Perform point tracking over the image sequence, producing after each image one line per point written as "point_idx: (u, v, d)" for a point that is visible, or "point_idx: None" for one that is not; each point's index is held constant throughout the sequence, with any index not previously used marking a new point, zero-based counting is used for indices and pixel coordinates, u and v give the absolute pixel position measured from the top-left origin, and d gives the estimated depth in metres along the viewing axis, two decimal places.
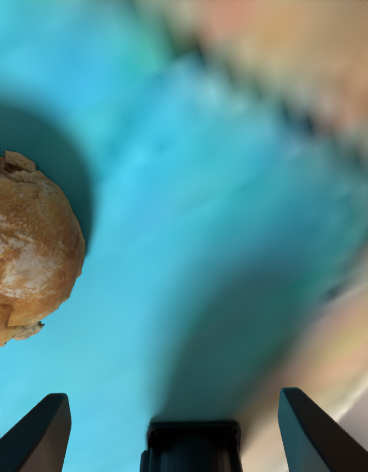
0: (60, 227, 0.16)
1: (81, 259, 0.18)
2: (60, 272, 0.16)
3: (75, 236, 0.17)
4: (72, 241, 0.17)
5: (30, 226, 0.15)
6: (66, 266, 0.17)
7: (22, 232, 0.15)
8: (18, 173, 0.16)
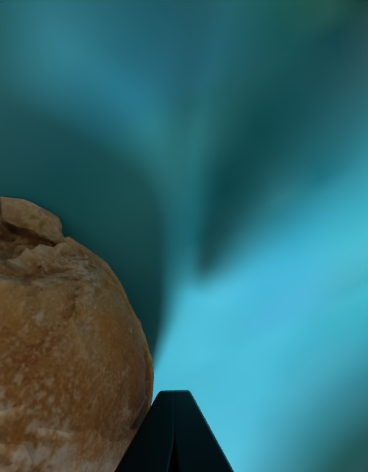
0: (124, 372, 0.07)
1: (151, 401, 0.09)
2: None
3: (144, 368, 0.09)
4: (143, 387, 0.08)
5: (63, 399, 0.06)
6: None
7: (45, 422, 0.06)
8: (30, 254, 0.07)
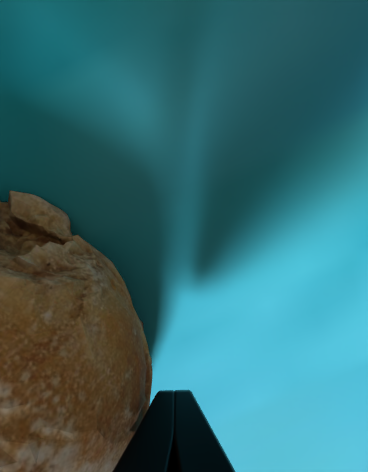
0: (127, 374, 0.07)
1: (148, 403, 0.09)
2: None
3: (145, 370, 0.09)
4: (144, 389, 0.08)
5: (68, 399, 0.06)
6: None
7: (50, 421, 0.06)
8: (39, 251, 0.07)
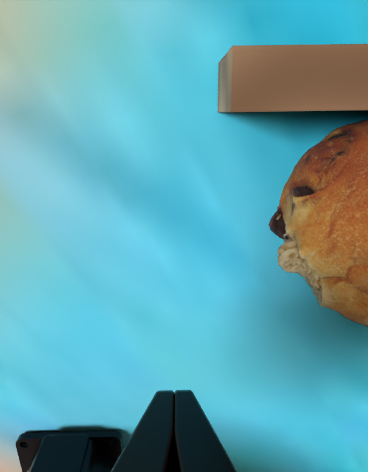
0: None
1: None
2: None
3: None
4: None
5: None
6: None
7: None
8: None
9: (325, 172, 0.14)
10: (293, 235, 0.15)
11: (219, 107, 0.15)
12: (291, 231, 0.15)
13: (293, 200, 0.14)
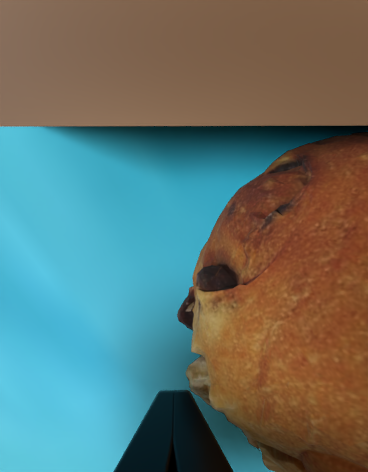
0: None
1: None
2: None
3: None
4: None
5: None
6: None
7: None
8: None
9: (255, 244, 0.07)
10: (204, 356, 0.08)
11: None
12: (199, 350, 0.08)
13: (198, 295, 0.07)
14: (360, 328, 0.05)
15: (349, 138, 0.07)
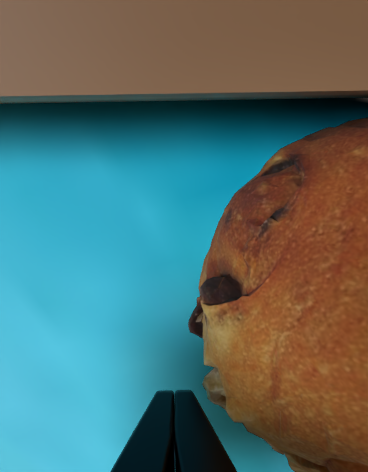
0: None
1: None
2: None
3: None
4: None
5: None
6: None
7: None
8: None
9: (254, 253, 0.06)
10: None
11: None
12: (211, 363, 0.07)
13: (203, 309, 0.07)
14: None
15: (340, 131, 0.07)
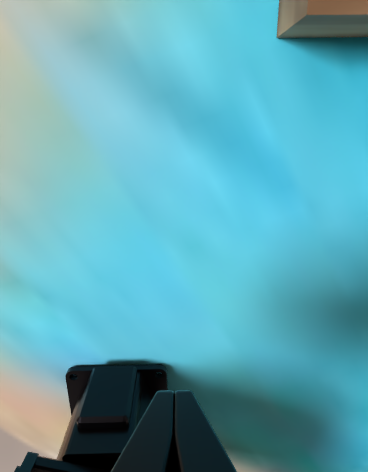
0: None
1: None
2: None
3: None
4: None
5: None
6: None
7: None
8: None
9: None
10: None
11: (281, 29, 0.16)
12: None
13: None
14: None
15: None
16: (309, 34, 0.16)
